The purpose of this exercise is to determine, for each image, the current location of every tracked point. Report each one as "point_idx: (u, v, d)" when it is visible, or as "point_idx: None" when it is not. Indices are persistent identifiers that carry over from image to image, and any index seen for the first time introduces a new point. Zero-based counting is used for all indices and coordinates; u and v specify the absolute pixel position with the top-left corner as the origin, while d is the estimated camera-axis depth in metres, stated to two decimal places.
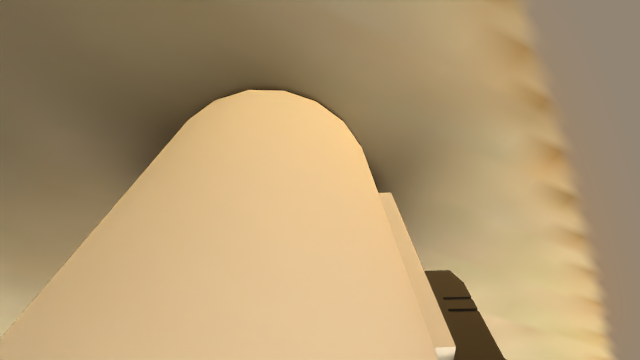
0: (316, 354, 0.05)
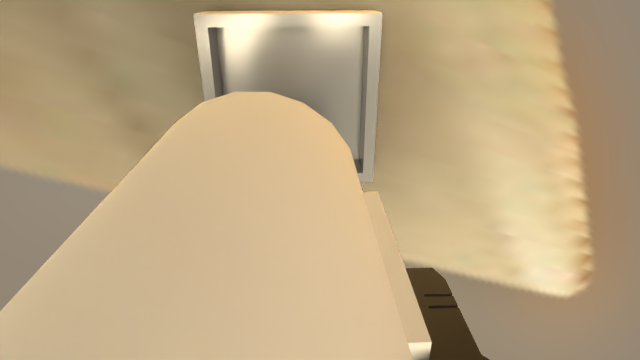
0: (276, 356, 0.05)
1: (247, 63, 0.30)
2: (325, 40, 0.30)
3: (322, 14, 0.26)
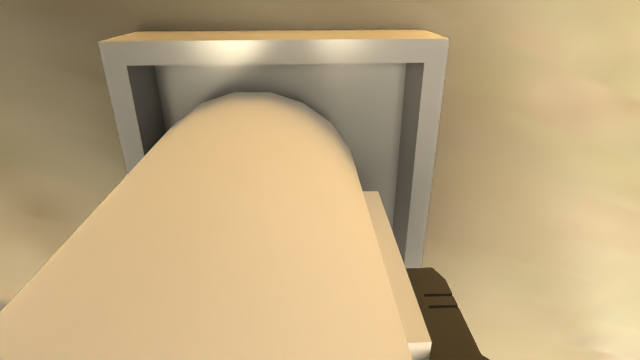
0: (276, 356, 0.05)
1: None
2: (340, 81, 0.17)
3: (338, 41, 0.14)
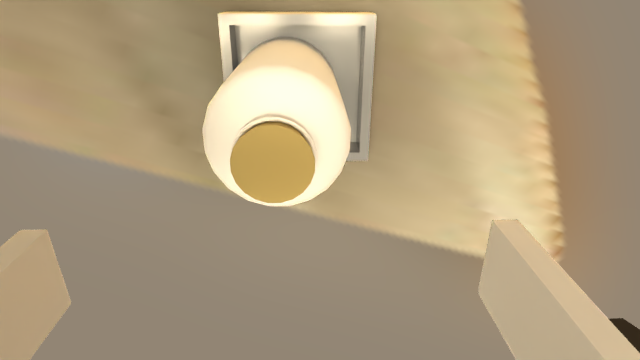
0: (304, 65, 0.23)
1: None
2: (328, 38, 0.34)
3: (326, 15, 0.31)
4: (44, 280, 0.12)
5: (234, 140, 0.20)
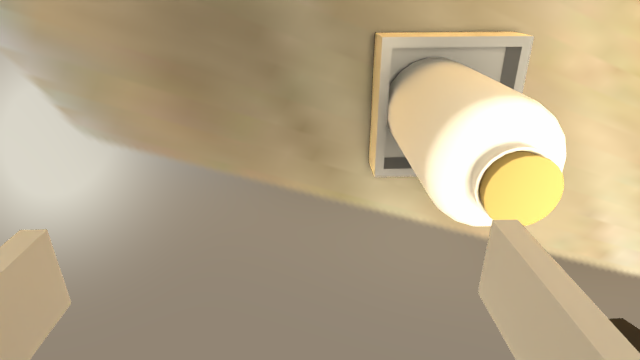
0: (520, 93, 0.24)
1: None
2: (473, 57, 0.36)
3: (485, 37, 0.32)
4: (44, 280, 0.12)
5: (484, 169, 0.21)
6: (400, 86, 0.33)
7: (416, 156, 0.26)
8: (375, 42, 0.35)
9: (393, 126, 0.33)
